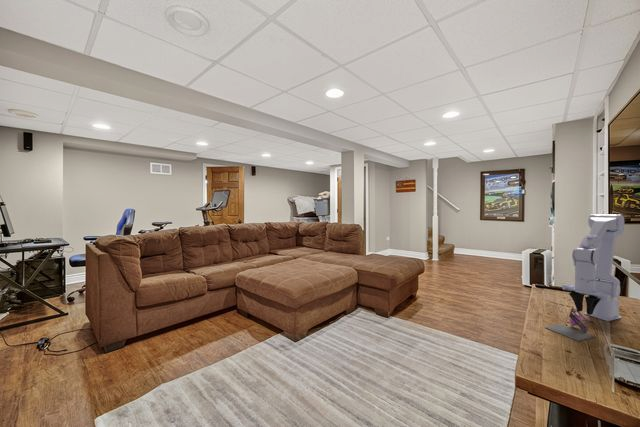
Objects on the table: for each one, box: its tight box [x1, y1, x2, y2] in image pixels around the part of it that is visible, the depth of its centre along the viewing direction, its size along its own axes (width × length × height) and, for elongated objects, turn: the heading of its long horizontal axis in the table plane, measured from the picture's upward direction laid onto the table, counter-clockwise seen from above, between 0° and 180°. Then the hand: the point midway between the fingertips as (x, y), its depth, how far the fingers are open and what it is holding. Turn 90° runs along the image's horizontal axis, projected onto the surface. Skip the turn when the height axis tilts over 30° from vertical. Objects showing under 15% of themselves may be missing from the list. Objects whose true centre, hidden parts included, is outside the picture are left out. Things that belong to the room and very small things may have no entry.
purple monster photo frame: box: [568, 306, 589, 333], centre depth 107 cm, size 7×5×9 cm
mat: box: [544, 323, 596, 342], centre depth 103 cm, size 9×11×1 cm
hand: (584, 312), depth 107 cm, fingers open, 3 cm apart
